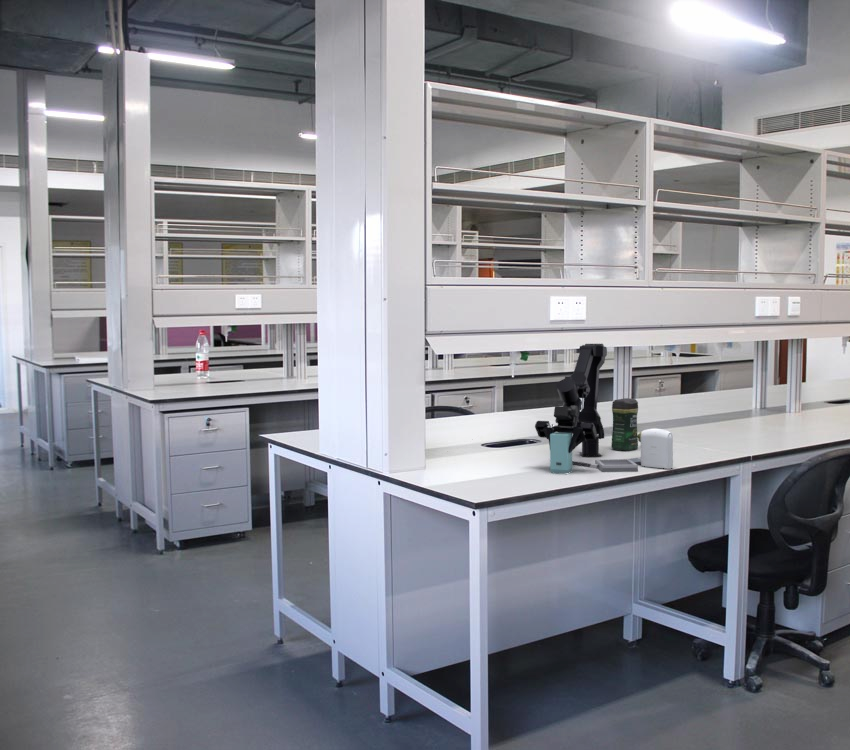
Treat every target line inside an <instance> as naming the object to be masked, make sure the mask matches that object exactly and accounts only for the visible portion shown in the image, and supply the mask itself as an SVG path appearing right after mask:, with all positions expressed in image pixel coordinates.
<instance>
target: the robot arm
mask: <svg viewBox="0 0 850 750" xmlns="http://www.w3.org/2000/svg"><path fill="white" fill-rule="evenodd" d="M578 352H579V354H578V356H577V357H578V358H577V360H576V364H575V367H574V371H573V373H572V374H571V375H570V376H564V378H563V379H561V380H559V381H558V382H557V383H556V389H557V393H558V396H559V399H560V401H561V402H563V404H562V406H561V405H559V406H558V405H556V406H555V405H554V410H553V417H554V418H555V423H556V425H555V424H552V423H551V422H550V421H549V420H537V421H536V422H535V425H534V428H535V431H536V433H537V436H538V437H539V438H542V439H543V438H546V439H547V440H548V444H549V445H548V446H549V447H550V434H552V433H555V432H559V433H572V439H571V442H570V445H569V450H568V452H569V453H571V452H572V453H573V451H574V450H575V449H576V448H577V447H578V446H579V445H581V452H579V455H580V456H581V457H602V454H601V453H600V451H599V450H600V449H599V443H600V442H599V441H600V440H601V439H605V429H604V425H603V424H602V423H603V422H602V418H601V416H600V414H599V412H598V409H597V408H598V396H599V394H598V393H599V382H600V381H599V379H600V369H601V368H602V367H603V365H604V364H605V362H606V357H607V355H608V348H607V346H605V345H604V344H603V343H585V344H582V345H580V346H579V350H578ZM582 399H583V400H582ZM582 407H583V408H582Z"/></svg>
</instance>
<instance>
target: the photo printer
mask: <svg viewBox="0 0 850 750" xmlns="http://www.w3.org/2000/svg"><path fill="white" fill-rule="evenodd" d="M641 432H642V433H641V442H640V459H641V465H640V467H644V466H645V468H646V467H647V468H657V469H663V468H664V470H671V468H672V469H673V466H674V458H673V455H674V454H673V453H674V451H673V450H674V449H673V445H674V443H673V441H674V439H673V433H672V432H671V431H669V430H666V429H662V428H656V427H655V428H647V429H644V430H642V431H641Z"/></svg>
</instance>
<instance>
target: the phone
mask: <svg viewBox="0 0 850 750" xmlns="http://www.w3.org/2000/svg"><path fill="white" fill-rule="evenodd" d="M629 459H630V460H631V461H633V462H634V463H636V464H637V465H638V466H641V458H637V457H633V458H632V457H631V458H629Z"/></svg>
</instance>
